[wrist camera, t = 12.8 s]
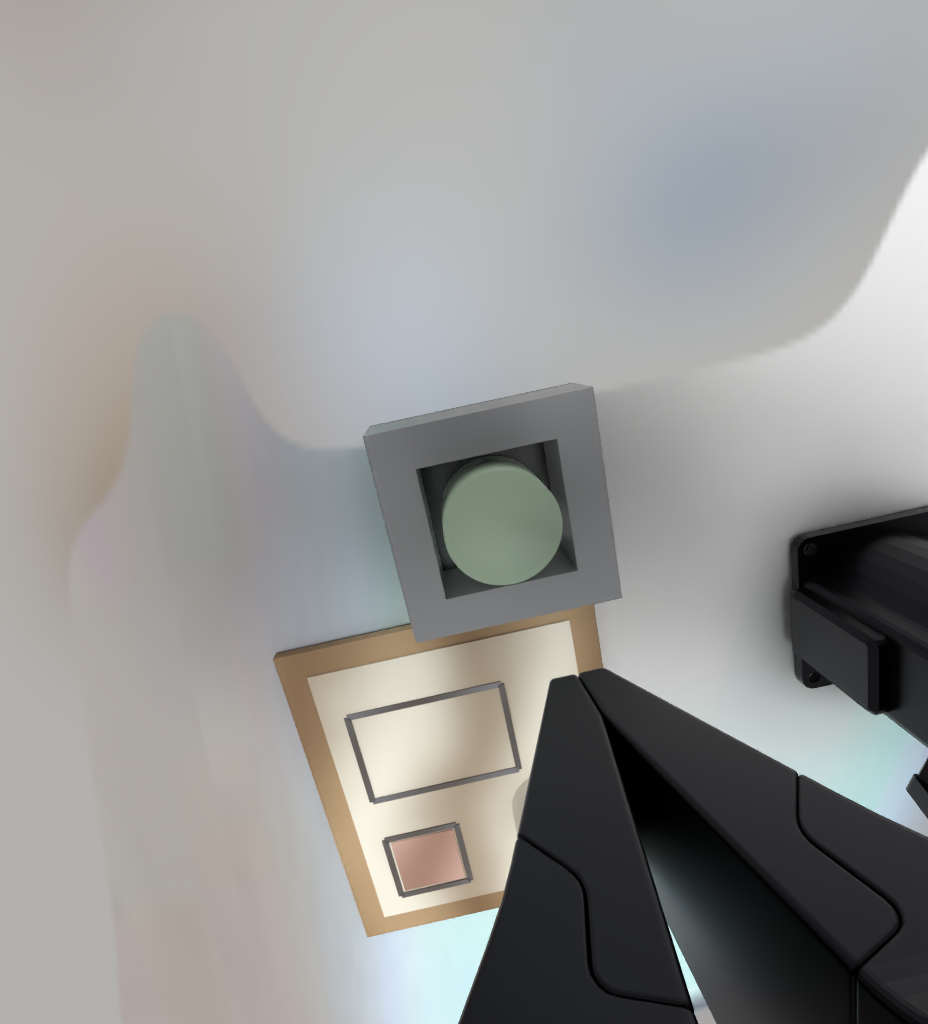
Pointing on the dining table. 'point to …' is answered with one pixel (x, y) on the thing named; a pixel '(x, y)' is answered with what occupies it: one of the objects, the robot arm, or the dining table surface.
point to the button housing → (482, 430)
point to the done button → (499, 521)
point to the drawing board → (429, 754)
